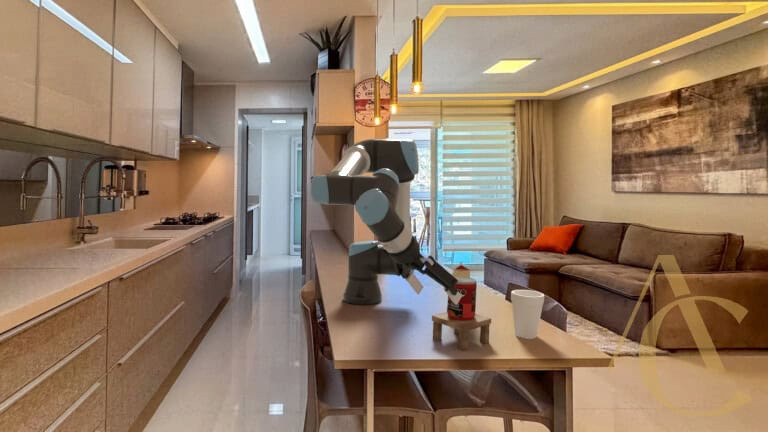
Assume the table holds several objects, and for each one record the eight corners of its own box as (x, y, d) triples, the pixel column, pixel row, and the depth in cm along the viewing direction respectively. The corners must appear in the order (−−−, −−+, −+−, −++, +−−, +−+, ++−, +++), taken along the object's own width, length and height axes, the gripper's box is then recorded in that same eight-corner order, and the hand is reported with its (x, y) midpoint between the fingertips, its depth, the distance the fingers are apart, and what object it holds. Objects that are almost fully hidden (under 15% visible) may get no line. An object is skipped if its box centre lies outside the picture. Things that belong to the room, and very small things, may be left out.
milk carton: (473, 322, 138) (475, 263, 137) (445, 320, 140) (447, 261, 139) (472, 315, 147) (475, 259, 146) (446, 312, 148) (448, 257, 147)
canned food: (442, 314, 122) (443, 277, 121) (465, 312, 125) (466, 275, 124) (456, 322, 115) (458, 282, 114) (480, 319, 118) (482, 281, 117)
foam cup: (506, 329, 131) (508, 289, 130) (535, 330, 131) (537, 290, 130) (514, 340, 122) (516, 296, 121) (546, 341, 121) (548, 297, 121)
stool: (431, 339, 121) (432, 315, 120) (457, 331, 128) (458, 308, 128) (464, 351, 112) (465, 326, 111) (490, 342, 119) (491, 318, 119)
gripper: (360, 248, 110) (399, 296, 120) (429, 261, 91) (469, 317, 101) (375, 228, 113) (413, 276, 124) (446, 236, 94) (482, 293, 105)
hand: (438, 295), depth 113 cm, fingers open, 13 cm apart
